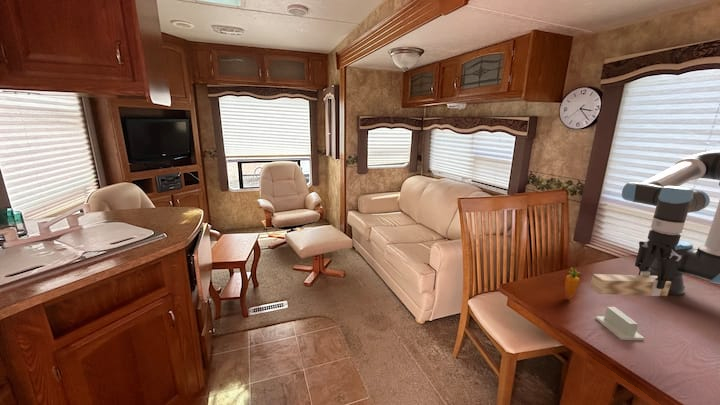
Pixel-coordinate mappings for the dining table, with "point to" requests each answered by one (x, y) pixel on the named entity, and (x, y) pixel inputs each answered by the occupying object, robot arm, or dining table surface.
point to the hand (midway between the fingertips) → (647, 291)
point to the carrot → (571, 284)
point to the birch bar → (625, 284)
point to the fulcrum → (620, 324)
